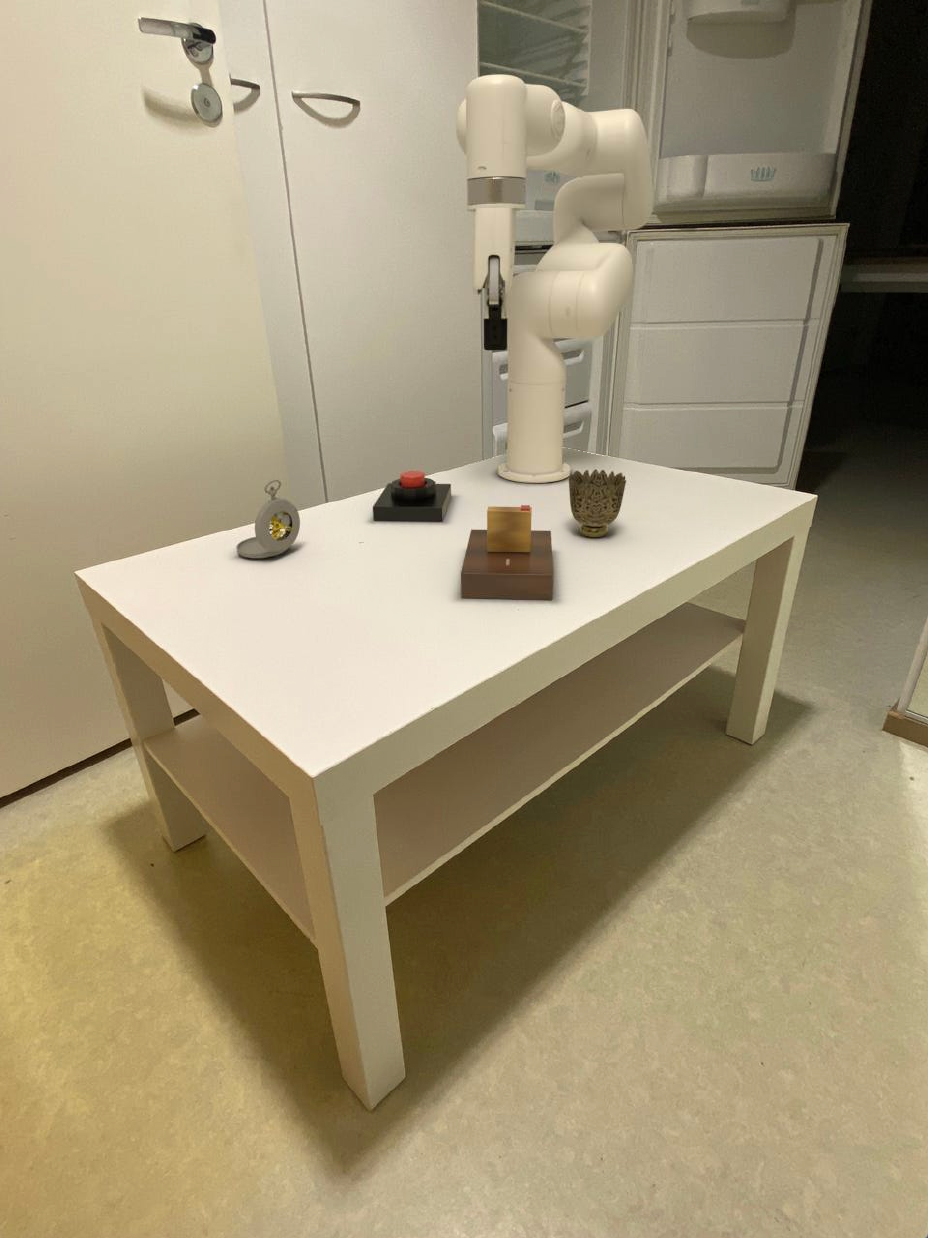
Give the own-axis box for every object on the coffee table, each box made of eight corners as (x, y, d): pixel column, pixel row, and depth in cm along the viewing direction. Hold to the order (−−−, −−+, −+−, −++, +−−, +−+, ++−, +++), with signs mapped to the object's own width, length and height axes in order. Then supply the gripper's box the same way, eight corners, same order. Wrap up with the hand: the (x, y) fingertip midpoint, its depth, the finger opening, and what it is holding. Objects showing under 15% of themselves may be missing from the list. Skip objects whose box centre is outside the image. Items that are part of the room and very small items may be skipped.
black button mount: (388, 496, 112) (387, 471, 110) (451, 497, 111) (450, 472, 109) (373, 521, 101) (371, 494, 99) (442, 522, 100) (441, 495, 98)
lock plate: (471, 551, 90) (471, 528, 88) (549, 552, 89) (550, 529, 88) (461, 598, 78) (460, 571, 76) (552, 600, 77) (553, 573, 75)
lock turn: (487, 551, 81) (487, 508, 79) (488, 546, 83) (487, 504, 80) (530, 552, 81) (531, 509, 79) (530, 547, 82) (531, 504, 80)
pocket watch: (246, 542, 94) (234, 468, 90) (308, 542, 94) (299, 468, 89) (226, 566, 87) (211, 487, 82) (293, 565, 87) (282, 486, 82)
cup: (621, 545, 91) (626, 485, 87) (563, 542, 92) (566, 482, 89) (621, 526, 97) (626, 469, 94) (567, 523, 99) (570, 467, 95)
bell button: (403, 482, 106) (402, 470, 105) (426, 482, 106) (426, 470, 105) (399, 488, 103) (398, 477, 102) (423, 489, 102) (422, 477, 102)
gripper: (471, 202, 97) (473, 344, 105) (461, 193, 84) (464, 356, 92) (526, 200, 96) (523, 343, 105) (524, 191, 83) (521, 355, 91)
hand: (495, 349), depth 98 cm, fingers closed
